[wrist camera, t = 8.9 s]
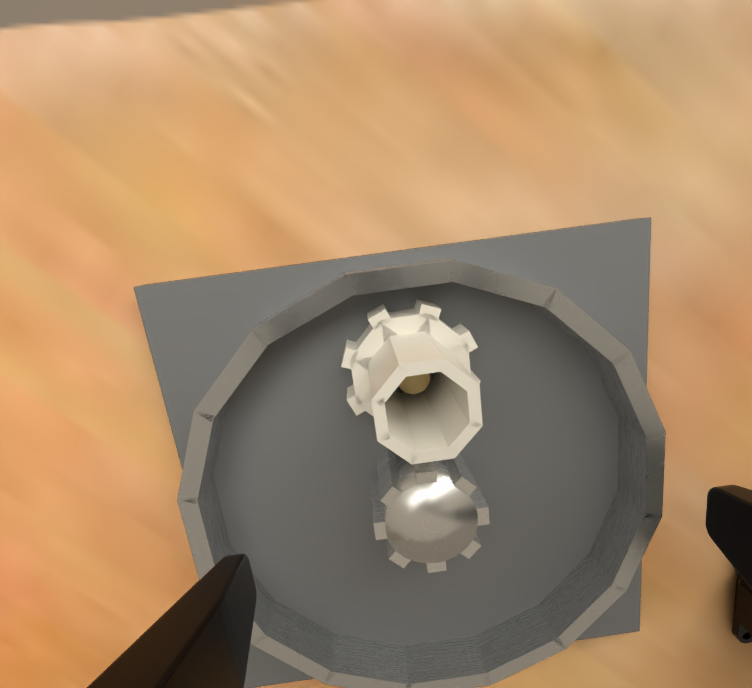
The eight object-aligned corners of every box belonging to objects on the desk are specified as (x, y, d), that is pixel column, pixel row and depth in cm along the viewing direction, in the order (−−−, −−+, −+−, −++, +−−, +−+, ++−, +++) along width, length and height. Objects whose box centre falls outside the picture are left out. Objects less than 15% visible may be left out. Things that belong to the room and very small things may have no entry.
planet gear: (464, 292, 18) (509, 314, 13) (474, 412, 19) (519, 478, 14) (334, 310, 18) (325, 340, 13) (354, 430, 19) (352, 502, 14)
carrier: (635, 218, 19) (691, 214, 15) (627, 615, 24) (668, 671, 21) (145, 284, 18) (102, 293, 15) (246, 670, 24) (229, 736, 20)
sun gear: (465, 430, 20) (485, 464, 17) (473, 518, 21) (492, 563, 18) (365, 444, 20) (366, 480, 17) (378, 531, 21) (381, 579, 18)
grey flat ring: (639, 231, 18) (673, 230, 16) (630, 625, 23) (656, 661, 21) (148, 297, 17) (122, 304, 16) (249, 680, 22) (239, 722, 21)
